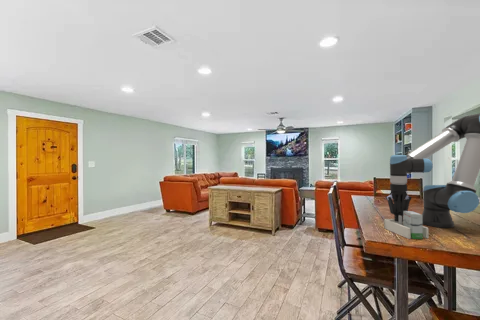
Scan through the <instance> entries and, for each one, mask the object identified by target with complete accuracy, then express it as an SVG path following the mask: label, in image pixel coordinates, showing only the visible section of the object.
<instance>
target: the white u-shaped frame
mask: <svg viewBox="0 0 480 320" xmlns="http://www.w3.org/2000/svg"><path fill="white" fill-rule="evenodd" d="M383 229H385V230H388V231H390V232H392V233H394V234H397V235H399V236H402V237H404V238H406V239H408V240H411V239H412V238H411V236H410V228H408V227H405V226H403V222H402V225H400V224H397V223H396V221H395V220H394V218H385V219H383ZM424 238H425V239H429V227H427V226H424V225H423V239H424Z"/></svg>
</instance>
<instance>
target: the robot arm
mask: <svg viewBox="0 0 480 320" xmlns="http://www.w3.org/2000/svg"><path fill="white" fill-rule="evenodd" d="M464 138H466V141H465V143H464V146H463V150H462V152H461V155H460V158H459V161H458V162H457V166H456V169H455V171H454V174H453V177H452V179H451V181H449V182H447V183H446V184H427V185H424V186H423V188H422V190H423V191H422V194H423V211H422V213H421V215H422V222H423V225H425V226H430V227H435V228H443V229H444V228H445V229H451V228H452V229H453V228H454V227H455V222H454V220H453V218H452V215H451V212H454V213H461V214H468V213H471V212H473V211H475V210H476V209H477V208H478V206H479V204H480V198H479V195H478V194H477V193H476V192H477V189H476V187H475V183H476V180H477V178H478V176H479V173H480V113H475V114H469V115H466V116H463V117H460V118H458V119H457V120H455V121H453V122H452V123H450V124H449V125H447V126H446V127H444V128H443V129H442V130H441V132H440V133H438V134H437V135H435V136H434V137H432V138H431V139H429V140H428V141H425V142H424V143H423V144H422V145H419V146H418V147H416V148H415V149H413V150H412V151H410V152H409V153H408V154H406V155H405V154H392V155H391V156H390V157H389V158H390V159H389V174H390V175H389V181H390V184H389V189H390V193H389V195H388V196H385V198H386V201H387V204H388V207H389V212H390V214H392V215H394V218H393V219H394V220H395V221H396V223H397V224H400V225H402V222H403V211H409V206H410V202H411V200H412V197H411V196H409V195H408V193H407V192H408V184H407V183H408V173H413V174H414V173H420V174H421V173H423V174H424V173H430V172H432V170H433V167H434V166H433V162H432V160H431V159H429V158H430V157H431V156H433V155H434V154H435V153H437V152H439V151H441V149H444V148H445V147H446V146H449V145H450V144H452V143H453V142H454V143H455V142H458V141H460V140H462V139H464Z"/></svg>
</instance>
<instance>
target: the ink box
mask: <svg viewBox="0 0 480 320" xmlns="http://www.w3.org/2000/svg"><path fill="white" fill-rule="evenodd" d="M403 226H405V227H408V228H410V236H411V239H413V240H416V239H417V240H423V239H424V237H423V226H424V224H423V222H422V213H419V212H415V211H412V210H411V211H410V210H408V211H403Z"/></svg>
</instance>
